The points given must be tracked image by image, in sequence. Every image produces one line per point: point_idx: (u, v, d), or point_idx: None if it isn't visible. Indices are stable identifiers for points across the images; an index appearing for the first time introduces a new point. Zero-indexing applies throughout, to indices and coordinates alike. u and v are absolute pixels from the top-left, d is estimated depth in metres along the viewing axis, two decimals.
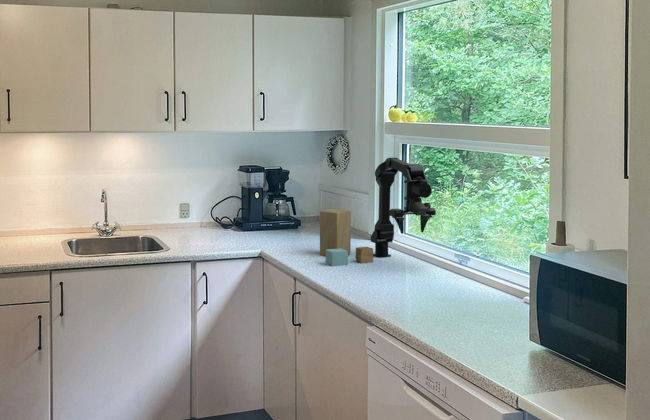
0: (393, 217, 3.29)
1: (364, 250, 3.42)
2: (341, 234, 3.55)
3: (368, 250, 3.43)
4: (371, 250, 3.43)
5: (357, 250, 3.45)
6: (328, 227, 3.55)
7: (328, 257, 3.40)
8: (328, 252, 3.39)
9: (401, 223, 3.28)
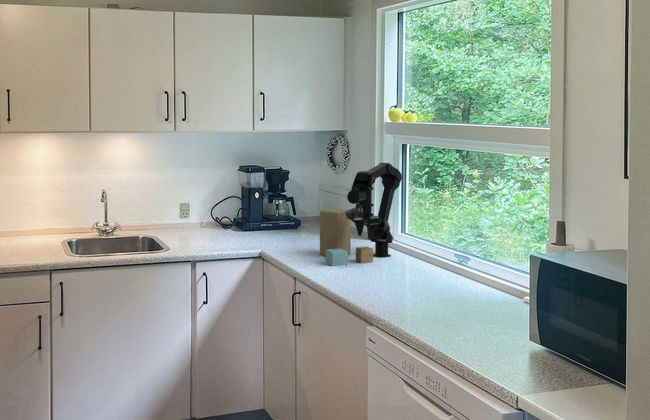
0: None
1: (364, 250, 3.42)
2: (341, 234, 3.55)
3: (368, 250, 3.43)
4: (371, 250, 3.43)
5: (357, 250, 3.45)
6: (328, 227, 3.55)
7: (328, 257, 3.40)
8: (328, 252, 3.39)
9: (356, 225, 3.48)
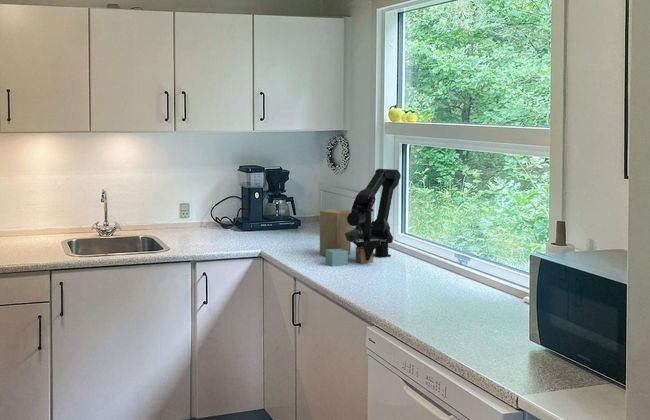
0: None
1: (364, 250, 3.42)
2: (341, 234, 3.55)
3: None
4: None
5: (357, 250, 3.45)
6: (328, 227, 3.55)
7: (328, 257, 3.40)
8: (328, 252, 3.39)
9: None
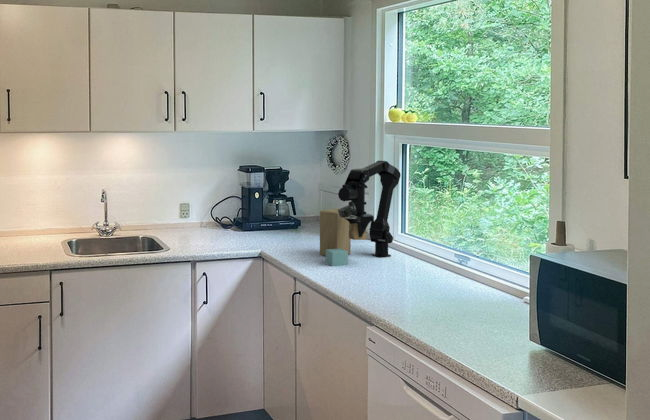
0: None
1: (357, 226, 3.39)
2: (341, 234, 3.55)
3: None
4: None
5: (350, 226, 3.42)
6: (328, 227, 3.55)
7: (328, 257, 3.40)
8: (328, 252, 3.39)
9: None
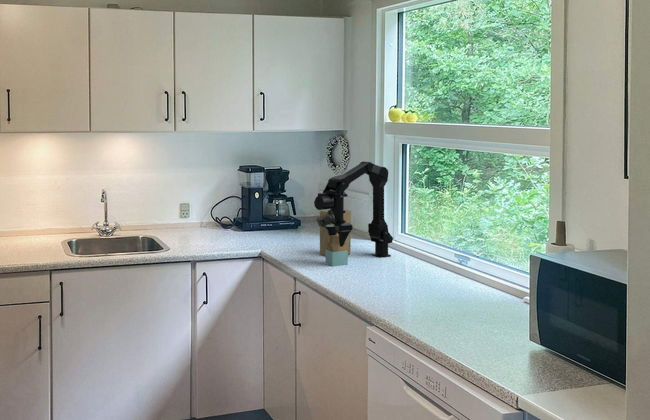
0: None
1: (336, 238, 3.36)
2: None
3: None
4: None
5: (329, 238, 3.39)
6: None
7: (328, 257, 3.40)
8: (328, 252, 3.39)
9: (328, 232, 3.43)
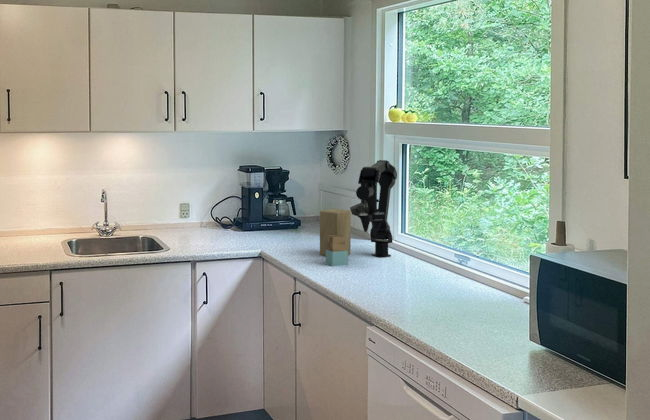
0: None
1: (336, 238, 3.36)
2: (341, 234, 3.55)
3: (340, 238, 3.37)
4: (343, 238, 3.37)
5: (329, 238, 3.39)
6: (328, 227, 3.55)
7: (328, 257, 3.40)
8: (328, 252, 3.39)
9: (361, 221, 3.46)
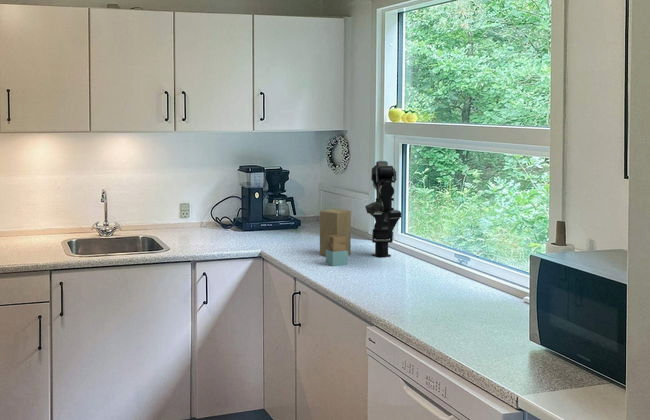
0: None
1: (336, 238, 3.36)
2: (341, 234, 3.55)
3: (340, 238, 3.37)
4: (343, 238, 3.37)
5: (329, 238, 3.39)
6: (328, 227, 3.55)
7: (328, 257, 3.39)
8: (328, 252, 3.39)
9: (375, 220, 3.46)
